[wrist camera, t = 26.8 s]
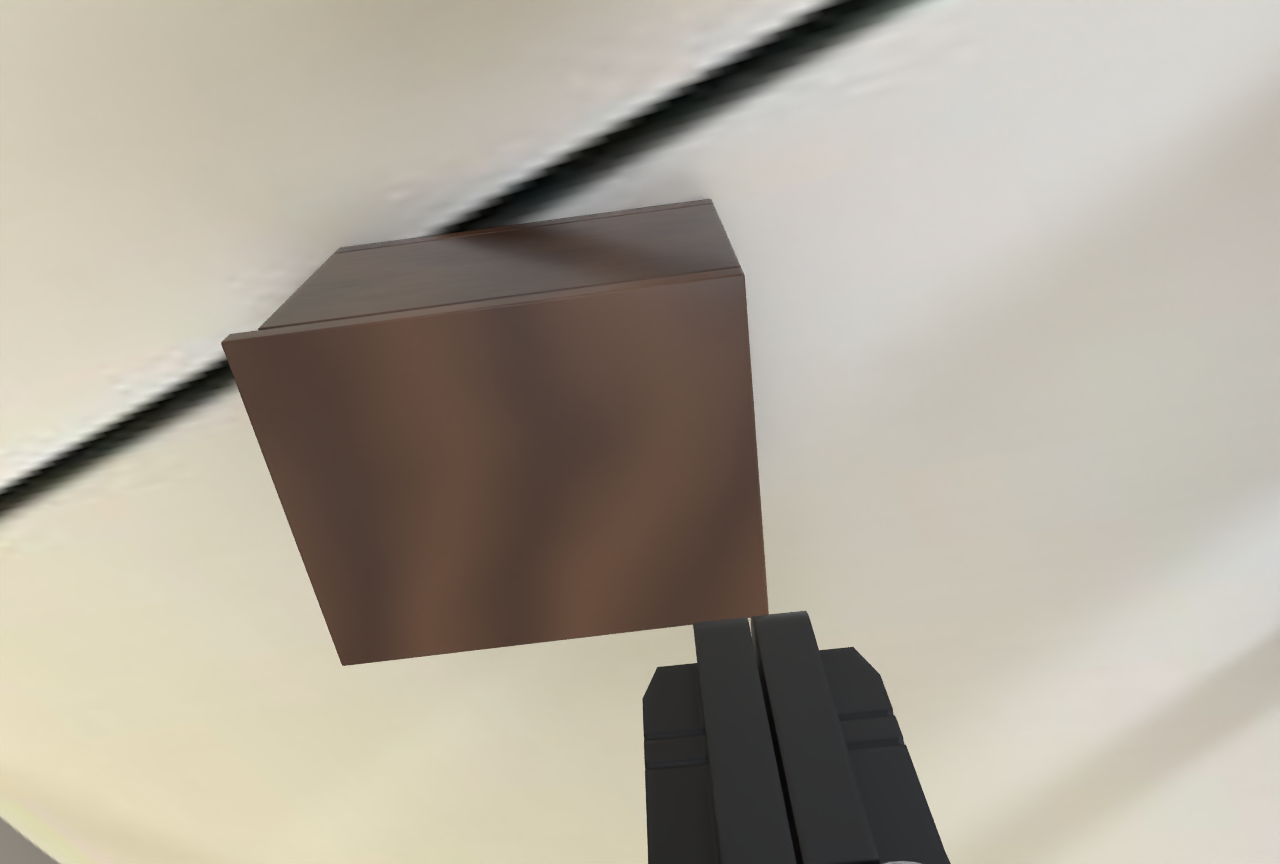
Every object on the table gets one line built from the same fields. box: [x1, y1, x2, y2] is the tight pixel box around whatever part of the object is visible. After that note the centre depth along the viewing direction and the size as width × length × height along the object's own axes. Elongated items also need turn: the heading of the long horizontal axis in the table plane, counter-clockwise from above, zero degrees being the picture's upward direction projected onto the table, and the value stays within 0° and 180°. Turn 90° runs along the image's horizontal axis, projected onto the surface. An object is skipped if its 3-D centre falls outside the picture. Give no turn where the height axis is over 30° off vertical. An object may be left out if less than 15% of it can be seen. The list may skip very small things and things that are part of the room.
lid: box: [221, 268, 769, 666], centre depth 28 cm, size 15×13×1 cm
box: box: [258, 199, 741, 330], centre depth 33 cm, size 15×13×9 cm
